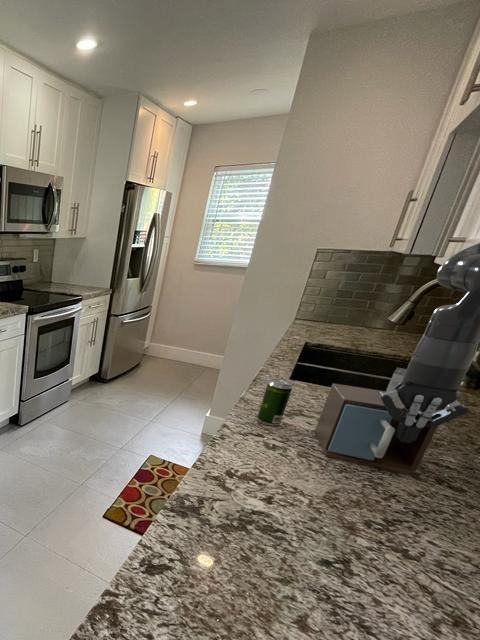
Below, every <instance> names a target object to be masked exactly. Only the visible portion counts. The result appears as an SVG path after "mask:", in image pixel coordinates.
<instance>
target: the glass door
mask: <svg viewBox="0 0 480 640" xmlns="http://www.w3.org/2000/svg"><path fill="white" fill-rule="evenodd" d="M391 420H392V416H391V415H390V414H389V412H388V411H382V410H376V409H370V408H365V407H359V406H353V405H347V404H346V405H345V407H344V410H343V412H342V415H341V418H340V420H339V423H338V425H337V428H336V430H335V433H334V436H333V438H332V441H331V443H330V446H329V448H328V451H330V452H335V453H340V454H344V455H349V456H354V457H358V458H363V459H368V460H372V461H374V458H375V457H377V458H382V457H383V456H384V454H385V452H386V450H387V447H388V445H389V443H390V441H391V439H392V436H393V434H394V432H395V429H394V428H393V427H391V425H390V422H391Z"/></svg>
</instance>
